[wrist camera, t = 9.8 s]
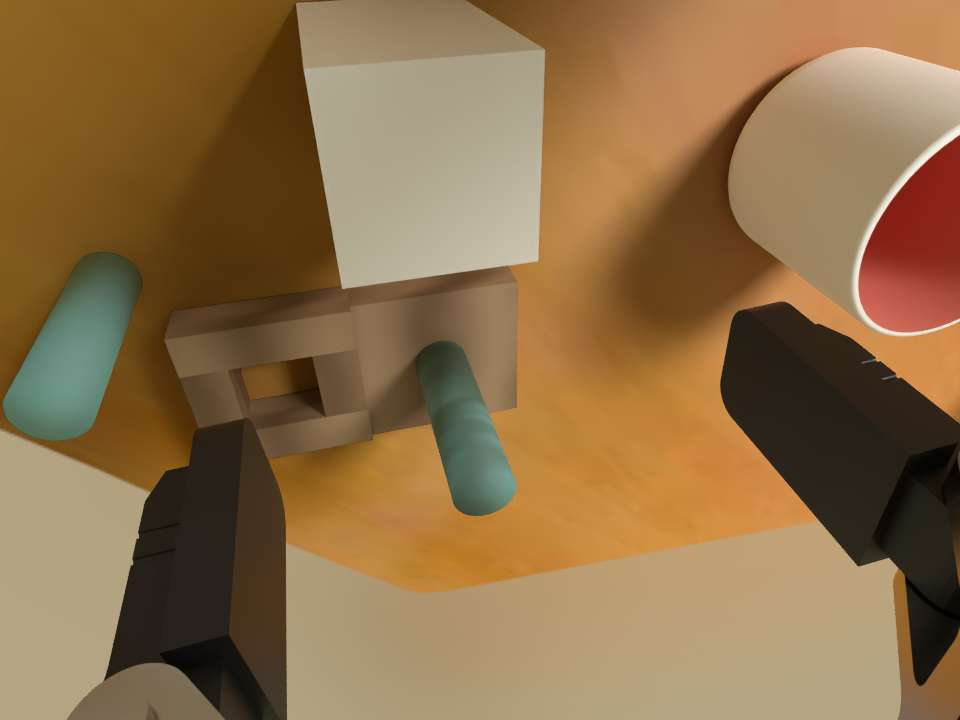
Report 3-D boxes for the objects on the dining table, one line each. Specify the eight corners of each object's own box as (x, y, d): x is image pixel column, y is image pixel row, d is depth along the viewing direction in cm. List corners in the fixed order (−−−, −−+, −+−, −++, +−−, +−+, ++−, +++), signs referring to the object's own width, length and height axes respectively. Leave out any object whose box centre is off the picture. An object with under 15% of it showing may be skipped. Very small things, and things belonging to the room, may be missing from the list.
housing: (454, -7, 25) (545, 49, 16) (460, 148, 28) (538, 261, 20) (295, 3, 24) (303, 68, 15) (323, 162, 27) (342, 289, 19)
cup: (934, 95, 33) (1137, 162, 25) (804, 261, 37) (942, 361, 29) (809, 0, 28) (1009, 45, 21) (679, 201, 33) (802, 300, 25)
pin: (129, 248, 28) (77, 372, 20) (150, 300, 29) (108, 432, 22) (64, 256, 27) (-13, 386, 20) (88, 309, 29) (24, 447, 22)
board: (506, 262, 32) (586, 398, 24) (506, 385, 37) (574, 535, 29) (346, 285, 31) (370, 439, 22) (368, 410, 36) (395, 576, 27)
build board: (346, 285, 31) (350, 311, 29) (368, 410, 36) (373, 439, 34) (171, 311, 30) (164, 339, 28) (218, 437, 34) (215, 469, 32)
